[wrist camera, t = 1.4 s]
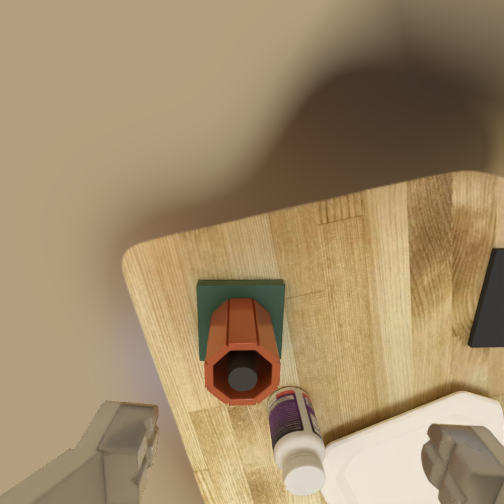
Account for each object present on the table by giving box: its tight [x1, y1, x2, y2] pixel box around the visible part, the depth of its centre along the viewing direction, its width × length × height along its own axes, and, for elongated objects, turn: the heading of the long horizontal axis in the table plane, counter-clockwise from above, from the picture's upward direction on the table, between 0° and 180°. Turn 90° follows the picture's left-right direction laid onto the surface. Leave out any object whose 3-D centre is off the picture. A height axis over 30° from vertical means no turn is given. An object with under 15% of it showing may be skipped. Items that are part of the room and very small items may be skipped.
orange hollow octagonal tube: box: [204, 298, 281, 406], centre depth 30 cm, size 6×6×8 cm
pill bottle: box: [267, 387, 326, 496], centre depth 35 cm, size 5×5×10 cm
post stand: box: [197, 280, 285, 391], centre depth 31 cm, size 9×9×10 cm
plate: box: [320, 391, 504, 504], centre depth 43 cm, size 25×25×2 cm
